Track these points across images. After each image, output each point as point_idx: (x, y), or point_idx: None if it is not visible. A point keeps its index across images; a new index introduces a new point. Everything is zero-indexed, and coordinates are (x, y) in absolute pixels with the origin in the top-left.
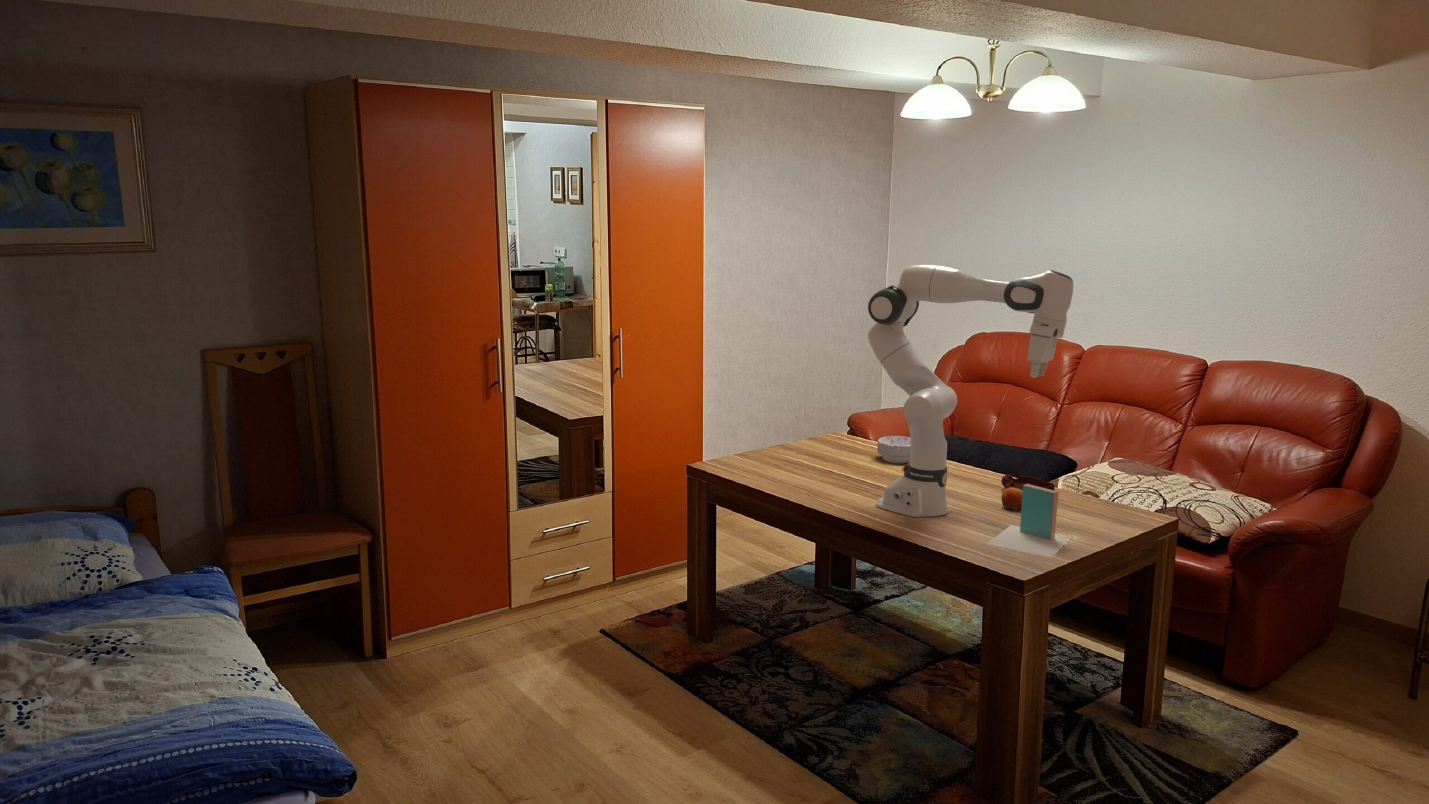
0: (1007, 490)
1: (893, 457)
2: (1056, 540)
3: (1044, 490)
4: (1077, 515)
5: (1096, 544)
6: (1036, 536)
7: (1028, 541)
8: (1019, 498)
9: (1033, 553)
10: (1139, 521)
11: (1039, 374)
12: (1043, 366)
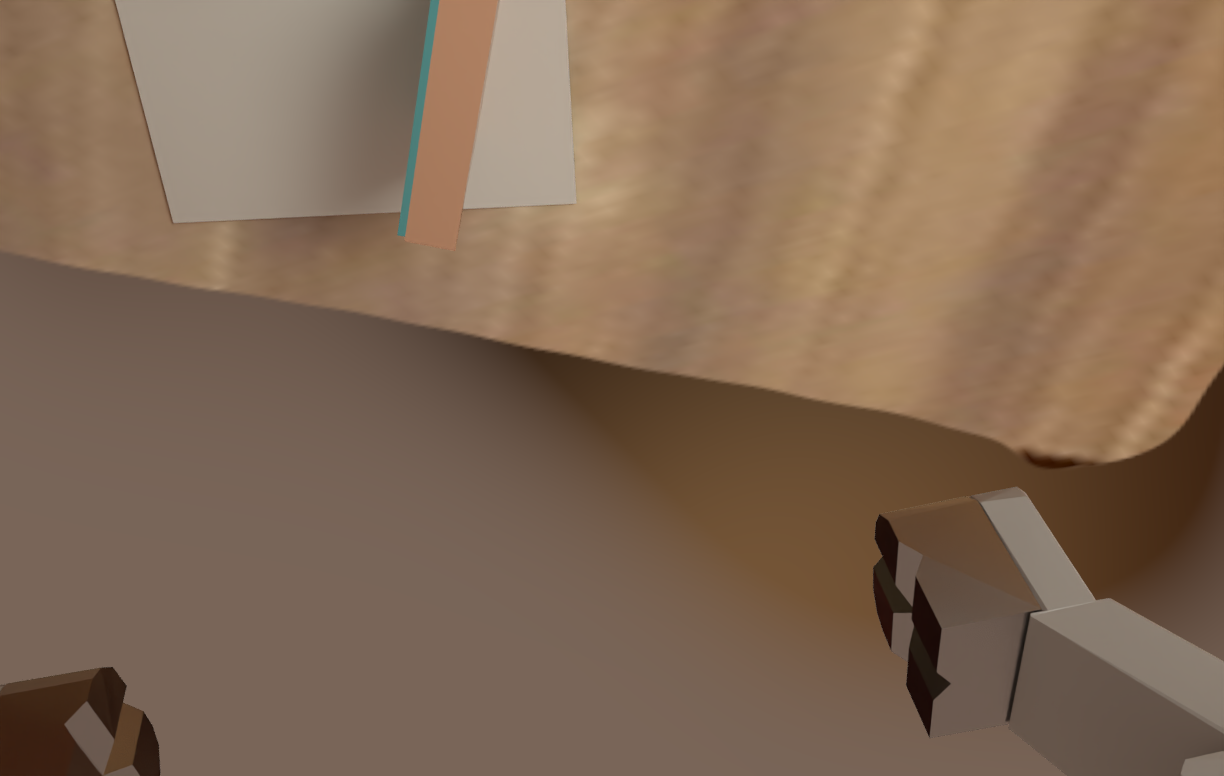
0: None
1: None
2: None
3: (413, 166)
4: (1018, 88)
5: (559, 314)
6: None
7: (324, 34)
8: None
9: (159, 128)
10: (1063, 368)
11: (894, 571)
12: (1119, 767)
